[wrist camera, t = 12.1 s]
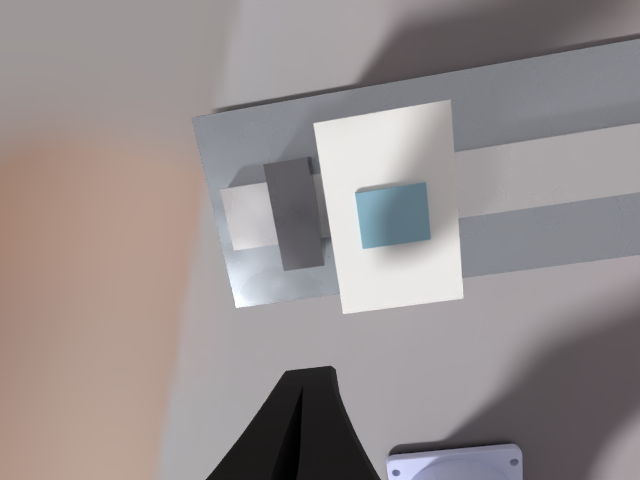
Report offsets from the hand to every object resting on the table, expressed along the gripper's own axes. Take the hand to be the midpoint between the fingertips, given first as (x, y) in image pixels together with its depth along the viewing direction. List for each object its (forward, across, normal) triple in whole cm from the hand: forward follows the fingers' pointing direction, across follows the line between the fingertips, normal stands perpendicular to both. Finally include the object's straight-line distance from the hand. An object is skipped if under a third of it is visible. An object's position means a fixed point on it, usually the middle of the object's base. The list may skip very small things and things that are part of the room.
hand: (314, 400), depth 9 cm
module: (+9, -3, -4) cm, 10 cm away
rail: (+9, -8, -4) cm, 13 cm away
